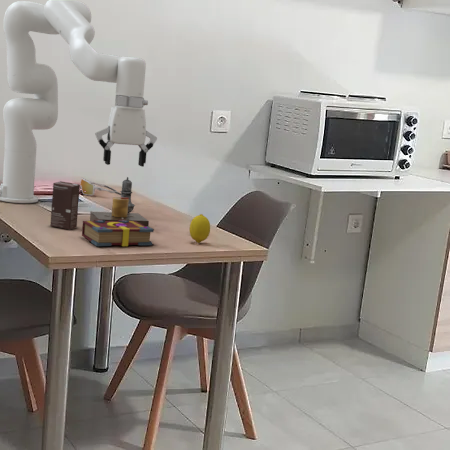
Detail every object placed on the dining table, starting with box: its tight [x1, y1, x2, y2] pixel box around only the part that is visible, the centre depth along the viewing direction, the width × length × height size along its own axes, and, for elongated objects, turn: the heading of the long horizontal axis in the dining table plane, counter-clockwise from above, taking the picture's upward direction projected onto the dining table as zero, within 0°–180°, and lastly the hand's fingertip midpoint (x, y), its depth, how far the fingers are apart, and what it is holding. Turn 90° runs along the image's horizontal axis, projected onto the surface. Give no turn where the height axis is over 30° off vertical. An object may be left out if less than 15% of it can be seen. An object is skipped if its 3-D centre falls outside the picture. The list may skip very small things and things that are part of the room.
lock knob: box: [111, 196, 129, 218], centre depth 210 cm, size 4×4×5 cm
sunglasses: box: [79, 177, 121, 196], centre depth 264 cm, size 14×15×5 cm
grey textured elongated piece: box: [119, 176, 136, 213], centre depth 227 cm, size 6×6×12 cm
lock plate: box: [89, 211, 150, 227], centre depth 211 cm, size 14×11×3 cm
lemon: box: [188, 213, 211, 244], centre depth 200 cm, size 6×6×8 cm
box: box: [50, 181, 81, 230], centre depth 201 cm, size 6×4×12 cm
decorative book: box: [81, 220, 154, 247], centre depth 192 cm, size 11×16×5 cm
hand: (124, 165), depth 209 cm, fingers open, 9 cm apart
